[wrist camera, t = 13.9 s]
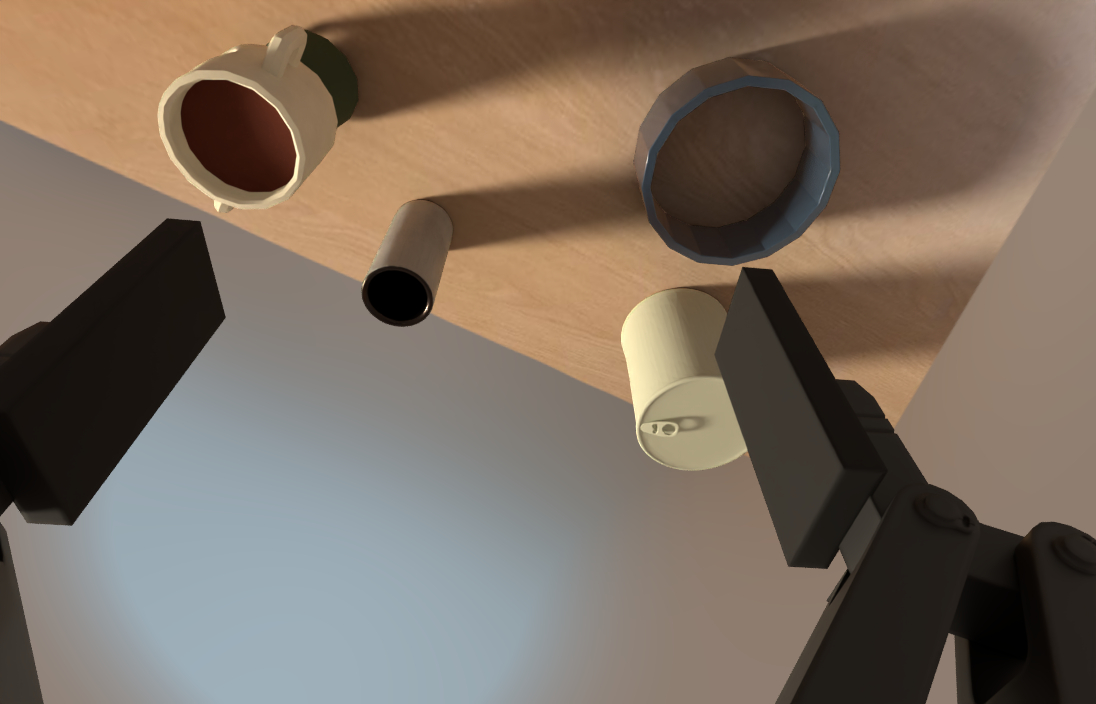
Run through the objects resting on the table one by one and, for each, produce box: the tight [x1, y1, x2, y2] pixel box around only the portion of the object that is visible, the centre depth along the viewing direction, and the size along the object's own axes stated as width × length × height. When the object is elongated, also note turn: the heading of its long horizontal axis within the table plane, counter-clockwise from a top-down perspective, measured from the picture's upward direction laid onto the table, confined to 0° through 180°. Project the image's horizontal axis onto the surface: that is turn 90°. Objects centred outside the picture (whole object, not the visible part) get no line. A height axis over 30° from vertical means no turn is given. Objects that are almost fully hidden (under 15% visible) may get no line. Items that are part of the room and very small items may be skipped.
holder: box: [633, 57, 840, 266], centre depth 42 cm, size 12×12×5 cm
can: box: [621, 288, 748, 470], centre depth 49 cm, size 9×9×12 cm
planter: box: [361, 200, 453, 327], centre depth 43 cm, size 4×4×10 cm
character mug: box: [158, 25, 358, 213], centre depth 36 cm, size 11×7×13 cm, turn 147°
